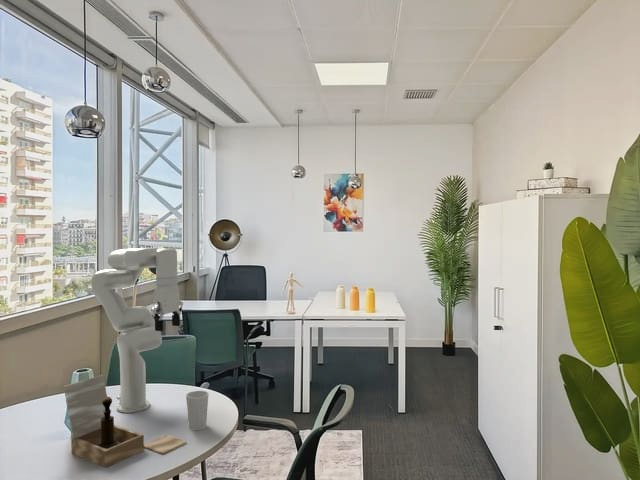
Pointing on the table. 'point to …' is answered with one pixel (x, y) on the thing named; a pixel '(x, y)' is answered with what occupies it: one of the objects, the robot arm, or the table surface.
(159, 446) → the cork mat
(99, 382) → the cold frame
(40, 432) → the table surface
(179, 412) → the table surface
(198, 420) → the cup
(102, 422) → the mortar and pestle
